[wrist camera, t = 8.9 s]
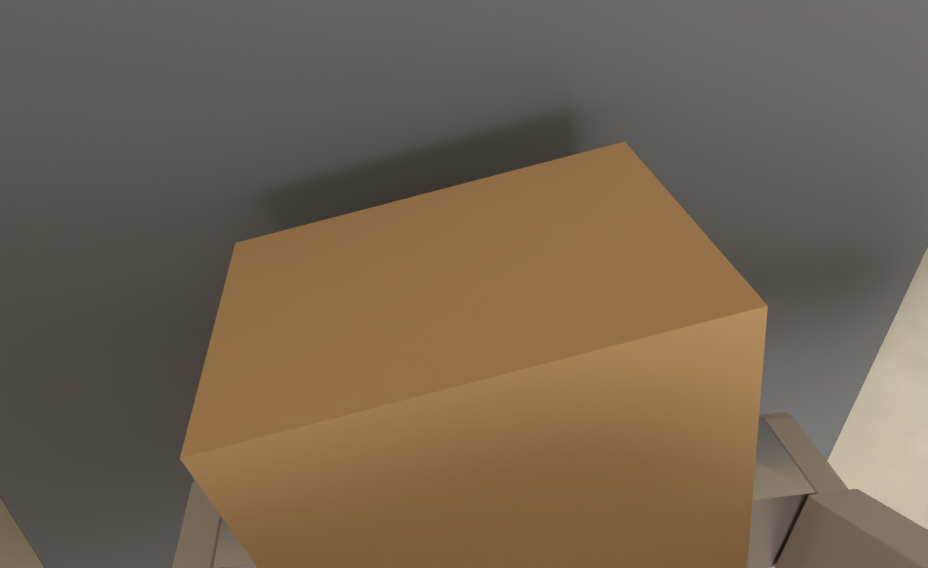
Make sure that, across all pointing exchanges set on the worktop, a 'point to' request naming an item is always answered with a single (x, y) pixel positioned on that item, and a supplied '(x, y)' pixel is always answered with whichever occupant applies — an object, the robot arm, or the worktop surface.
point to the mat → (410, 190)
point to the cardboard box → (487, 381)
